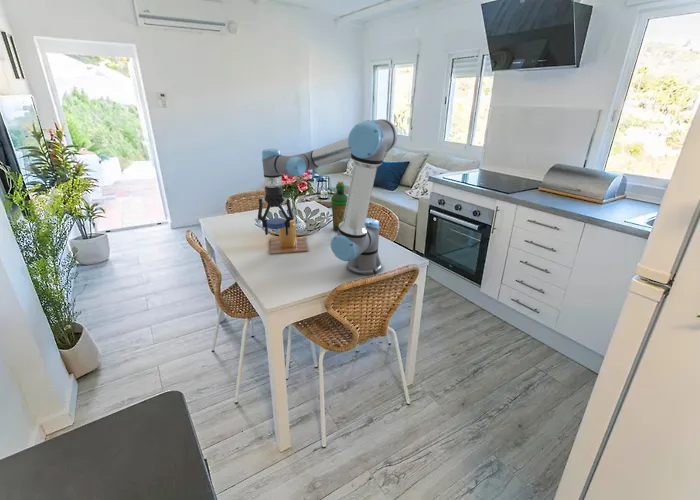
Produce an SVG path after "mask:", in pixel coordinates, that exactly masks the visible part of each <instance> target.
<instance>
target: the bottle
mask: <svg viewBox="0 0 700 500" xmlns="http://www.w3.org/2000/svg"><path fill="white" fill-rule="evenodd" d="M335 189H336V192H335V193H334V194H333V195H332V196H331V198H330V201H331V215H332V229H333V231H336V232H338V226H339V224H340V223H341V222H343V220H344V215H345V209H346V204H347V198H348V193H346V192H345V190H346V184H345V183H344V181H337V183H336V185H335Z"/></svg>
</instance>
